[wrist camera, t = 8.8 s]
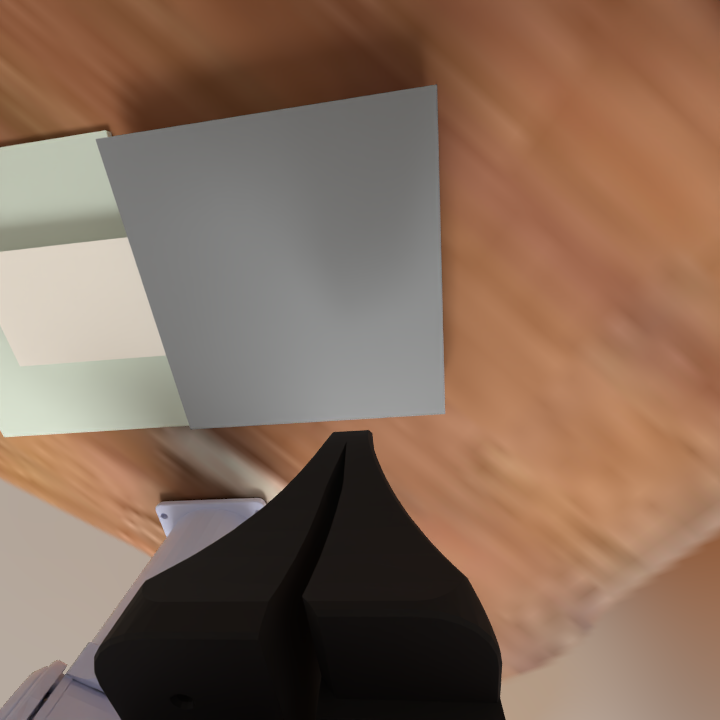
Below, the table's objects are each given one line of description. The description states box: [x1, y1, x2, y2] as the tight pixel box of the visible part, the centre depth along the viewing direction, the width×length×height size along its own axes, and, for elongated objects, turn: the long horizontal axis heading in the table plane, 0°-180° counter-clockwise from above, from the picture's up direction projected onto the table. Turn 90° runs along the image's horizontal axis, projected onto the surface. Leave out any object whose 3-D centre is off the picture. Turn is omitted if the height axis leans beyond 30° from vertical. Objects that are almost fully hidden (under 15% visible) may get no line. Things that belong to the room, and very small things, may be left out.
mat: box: [0, 130, 189, 437], centre depth 19 cm, size 16×14×1 cm
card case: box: [0, 237, 166, 366], centre depth 18 cm, size 6×9×2 cm, turn 96°
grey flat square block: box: [95, 85, 445, 429], centre depth 17 cm, size 14×14×2 cm
